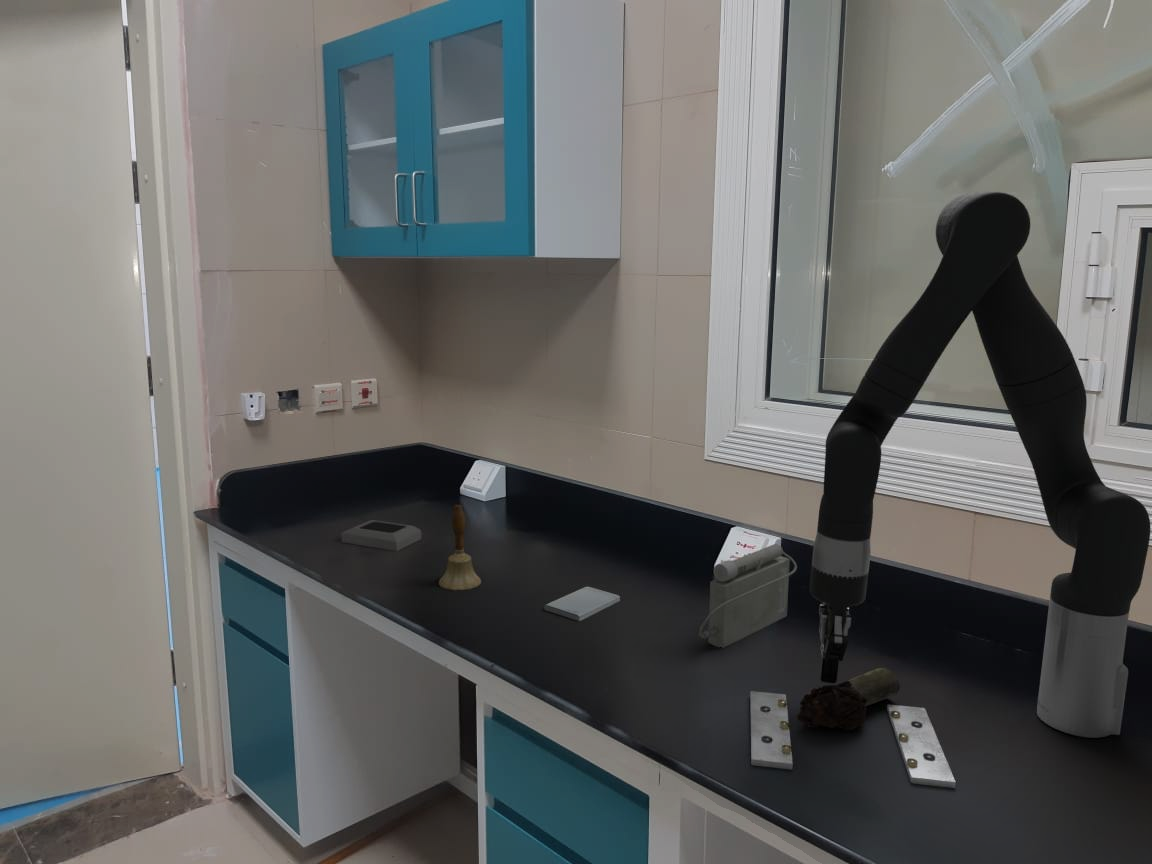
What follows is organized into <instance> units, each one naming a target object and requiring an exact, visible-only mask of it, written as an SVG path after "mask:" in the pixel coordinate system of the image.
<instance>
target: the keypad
mask: <svg viewBox="0 0 1152 864" xmlns="http://www.w3.org/2000/svg"><path fill="white" fill-rule="evenodd" d="M421 539H422V530H421V529H420V528H418V527H416V526H414V525H410V524H403V523H397V522H388V521H383V520H375V519H371V520H368V521H366V522H364V523H360V524H358V525H356V526H354V527H352V528H350V529H347V530H345V531H341V543H347V544H352V545H358V546H365V547H371V548H376V549H381V550H382V549H383V550H389V551H395V552H398V551H400V550H402V549H403V548H406V547H407V546H410V545H412V544H413V543H416V542H418V541H420V540H421Z"/></svg>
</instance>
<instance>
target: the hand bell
mask: <svg viewBox="0 0 1152 864" xmlns="http://www.w3.org/2000/svg"><path fill="white" fill-rule="evenodd" d="M451 526H452V531H453V533H454V545H455V547H454V550H455V551H454V553H453V554H451V555H450V556H448V559H447V567H446V571H445V573H444V575H443V576H442V577H441V578H440V579H439V581H438V585H439V586H440V587H441V588H442V589H445V590H447V591H448V590H449V591H450V590H451V591H466V590H472V589H475V588H477V587H479V586H480V585H481V583H482V579H481V578H480V576H478V575H477V573H476V572H475V571H474V566H473V562H472V557H471V555H469V554H467V553H465V549H464V548H465V546H464V534H465V529H466V516H465V513H464V510H463V507H462V504H455V505H454V508H453V512H452V517H451Z"/></svg>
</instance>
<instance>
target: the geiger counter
mask: <svg viewBox="0 0 1152 864" xmlns="http://www.w3.org/2000/svg"><path fill="white" fill-rule="evenodd" d="M782 555H783V556H782ZM784 556H785V557H784ZM790 562H792V564H793V565H794V567H793V569H792V571H790ZM797 569H798V565H797V563H796V561H795V560H794V558H792V557H791V556H790V555H788V554H787V553H786V552H784V549H783V547H782V546H781V545H780V544H778V543H774V544H772V545H769V546H766V547H763V548H761V549H759V550H756V551H753V552H752V553H747V554H746V555H743V556H741V557H739V558H736V559H733V560H730V559H728V560H724V561H722V562H720V563H717V564H715V566H714V567H713V575H714V578H715V579H713V580H712V581H710V582H709V583H710V584H709V585H710V586H709V612H708V613H709V614H708V615H707V617H706V618H705V619H704V621H703V622H702V624H701V625H700V626H699V631H698V637H700V638H702V639H704V640H705V639H708V644H710V645H712V646H714V647H717V648H720V647H722V648H721V649H724V647H725V648H726V646H727V647H729V646H730V644H731V645H732V643H733V644H734V642H735V643H737V642H738V641H740V640H742V639H744V638H746V637H748V636H751V635H752V634H754V633H756V632H759V631H760V630H762V629H764V628H766V627H768V626H770V625H773V624H774V623H776V622H778V621H780V620H783V619H784V618H786V617H787V615H788V602H789V601H788V597H789V595H788V594H789V579H790V576H792V575H793V574H795V572H797ZM707 623H708V629H706V630H705V631H703V629H704V628H705V626H706V625H707ZM702 631H703V632H702Z"/></svg>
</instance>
